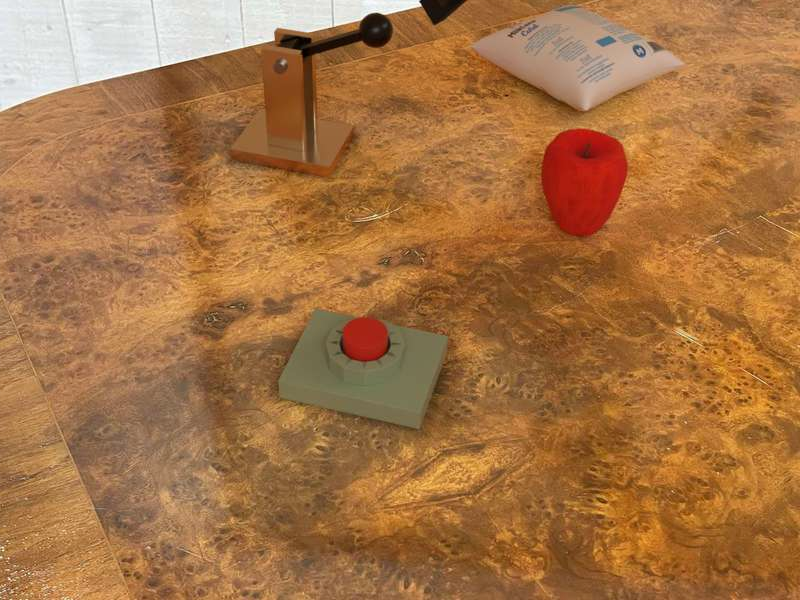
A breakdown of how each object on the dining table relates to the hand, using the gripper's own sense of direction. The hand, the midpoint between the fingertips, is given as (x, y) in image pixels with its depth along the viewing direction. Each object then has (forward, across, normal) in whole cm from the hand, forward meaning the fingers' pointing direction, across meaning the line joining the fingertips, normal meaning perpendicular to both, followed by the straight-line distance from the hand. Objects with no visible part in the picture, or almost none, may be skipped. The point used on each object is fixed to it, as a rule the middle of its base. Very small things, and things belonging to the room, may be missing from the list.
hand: (431, 10), depth 102 cm
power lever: (+16, -1, +3) cm, 16 cm away
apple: (+8, +8, -26) cm, 28 cm away
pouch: (+21, +32, -13) cm, 40 cm away
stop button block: (+7, -24, -26) cm, 36 cm away
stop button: (+4, -24, -23) cm, 33 cm away
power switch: (+29, -4, -2) cm, 29 cm away
